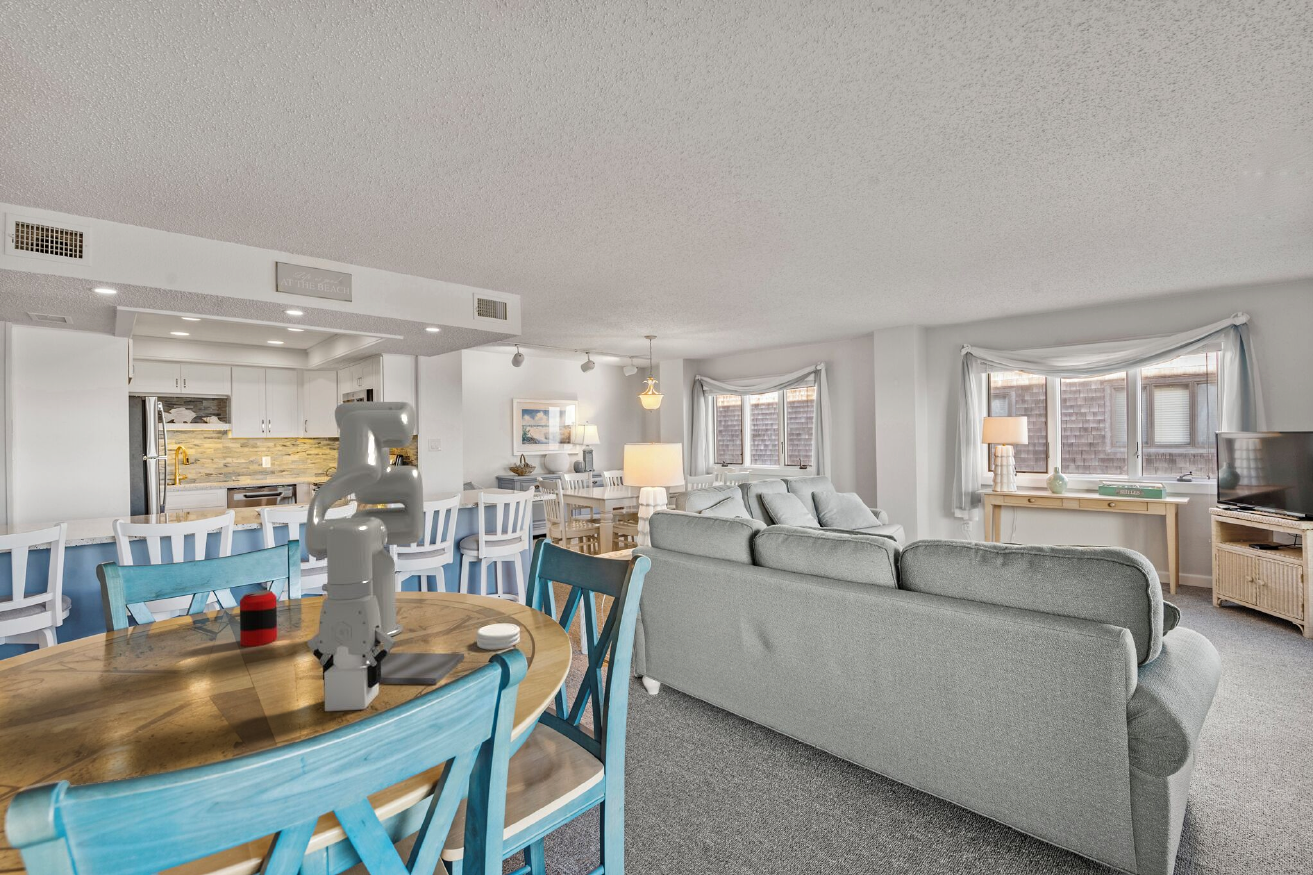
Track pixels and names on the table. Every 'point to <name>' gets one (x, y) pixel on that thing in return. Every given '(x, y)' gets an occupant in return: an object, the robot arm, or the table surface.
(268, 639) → the soda can
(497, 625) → the coaster
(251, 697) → the table surface
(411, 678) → the charcoal board
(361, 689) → the medicine bottle
